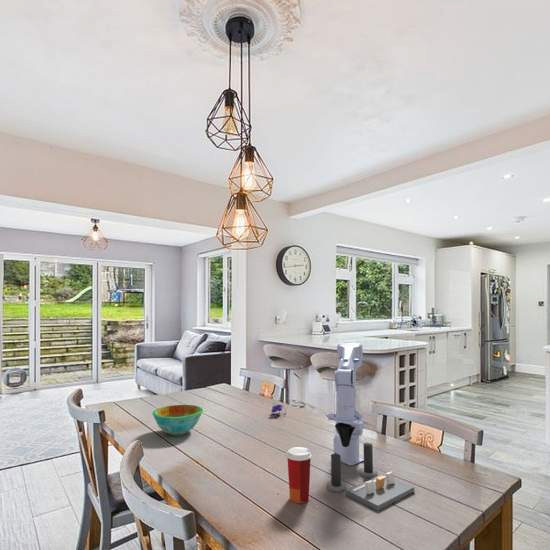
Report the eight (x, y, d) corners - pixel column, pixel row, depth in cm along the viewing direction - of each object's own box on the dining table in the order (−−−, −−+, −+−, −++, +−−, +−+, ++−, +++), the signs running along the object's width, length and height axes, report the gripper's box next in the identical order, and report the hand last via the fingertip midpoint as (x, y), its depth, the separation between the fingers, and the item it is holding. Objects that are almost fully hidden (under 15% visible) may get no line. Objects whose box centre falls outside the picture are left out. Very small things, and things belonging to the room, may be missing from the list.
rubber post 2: (356, 473, 134) (355, 443, 135) (367, 469, 138) (366, 440, 139) (369, 479, 130) (369, 448, 130) (381, 474, 133) (380, 444, 134)
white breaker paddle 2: (386, 483, 123) (385, 473, 124) (391, 481, 125) (390, 471, 125) (389, 484, 122) (388, 474, 123) (394, 482, 124) (393, 471, 124)
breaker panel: (345, 494, 120) (345, 488, 120) (382, 478, 130) (382, 473, 131) (378, 511, 110) (377, 504, 110) (414, 492, 121) (414, 486, 121)
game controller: (265, 405, 211) (283, 401, 212) (269, 421, 208) (287, 416, 209) (265, 404, 202) (284, 399, 203) (269, 420, 199) (288, 416, 200)
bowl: (141, 439, 169) (142, 415, 170) (167, 424, 190) (168, 403, 191) (189, 443, 163) (189, 419, 164) (210, 427, 185) (210, 405, 186)
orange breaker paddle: (375, 487, 120) (376, 477, 120) (380, 484, 122) (381, 475, 122) (378, 489, 119) (379, 479, 119) (383, 486, 121) (384, 477, 121)
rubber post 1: (322, 487, 125) (322, 454, 125) (335, 481, 128) (335, 450, 129) (336, 494, 120) (336, 460, 121) (349, 488, 124) (349, 456, 124)
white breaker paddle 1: (366, 493, 117) (364, 482, 117) (371, 490, 118) (370, 480, 119) (369, 494, 116) (367, 483, 117) (374, 491, 117) (373, 480, 118)
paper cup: (310, 492, 121) (309, 446, 122) (313, 505, 113) (313, 455, 114) (285, 492, 121) (285, 446, 122) (286, 505, 113) (286, 456, 114)
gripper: (321, 402, 136) (322, 442, 135) (353, 411, 125) (354, 455, 124) (335, 399, 141) (336, 438, 139) (367, 407, 129) (368, 450, 128)
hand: (345, 446), depth 132 cm, fingers closed
